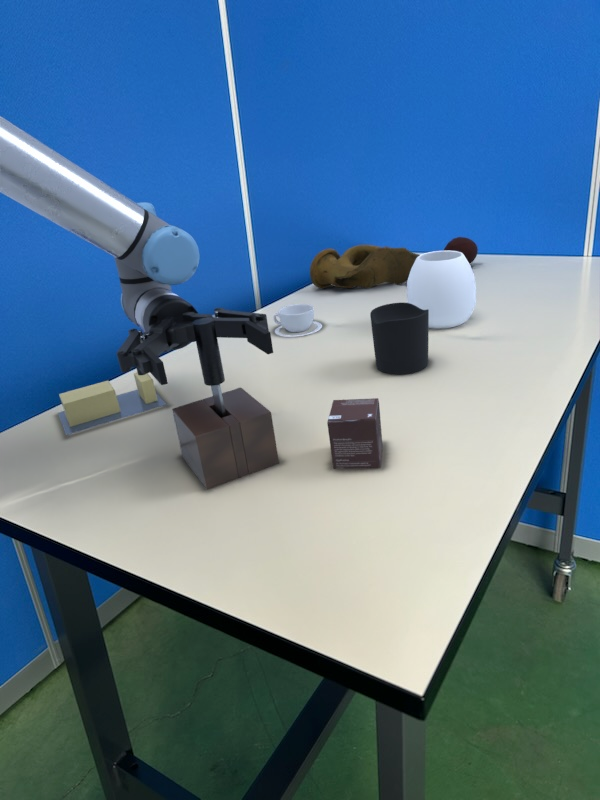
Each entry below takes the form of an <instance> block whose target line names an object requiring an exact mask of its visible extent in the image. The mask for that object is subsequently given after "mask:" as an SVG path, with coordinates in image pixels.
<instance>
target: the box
mask: <svg viewBox="0 0 600 800" xmlns="http://www.w3.org/2000/svg"><path fill="white" fill-rule="evenodd" d="M326 422H327V424H326V425H327V430H328V431H327V433H328V437H329V444H330V453H331V461H332V467H333V469H334V470H358V469H360V470H361V469H362V470H363V469H381V468H382V457H383V445H384V444H383V434H382V423H381V422H382V421H381V409H380V400H379V398H378V397H375V398H355V399H354V398H352V399H333V401H332V404H331V408H330V411H329V415H328V419H327V421H326Z"/></svg>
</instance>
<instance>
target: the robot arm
mask: <svg viewBox="0 0 600 800" xmlns="http://www.w3.org/2000/svg"><path fill="white" fill-rule="evenodd" d="M0 193H1V194H2V195H4V196H6V197H8V198H10V199H11V200H13V201H15V202H17V203H18V204H20V205H22V206H24V207H25V208H27V209H29V210H31V211H33V212H34V213H36V214H38V215H39V216H41V217H43V218H45V219H47V220H48V221H51V222H52V223H54V224H56V225H57V226H59V227H61V228H63V229H64V230H66V231H68V232H70V233H71V234H73V235H75V236H77V237H78V238H80V239H82V240H84V241H85V242H87V243H89V244H91V245H93V246H94V247H96V248H98V249H100V250H101V251H103V252H105V253H107V254H109V255H111V256H112V257H114V262H115V265H116V269H117V274H118V278H119V283H120V288H121V294H120V305H121V308H122V310H123V313H124V315H125V317H127V319H128V320H129V321H130V323H132V324H133V325H135V326H136V327H138V329H140V330H138V329H137V328H131V329H129V330H127V332H128V336H127V337H126V339H125V340H124V342H123V343H122V344H121V345H120V347H119V348H118V350H117V351H116V357H117V361H118V364H119V369H120V372H122V373H128V372H130V371H131V370H132V369H133V368H136V373H138V375H145V374H147V373H148V374H149V373H150V374H151V375H152V376H153V378H154V379H155V380H156V381H157V382H158V383H159V384H160V385H161V386H164V385H168V384H169V382H168V378H167V374H166V369H165V365H164V361H163V360H162V359H161V358H160V356H161V355H162V354H163V353H169V352H170V351H177V350H180V349H183V348H186V347H187V346H189V345H190V344H191V343H196V339H195V334H194V329H193V324H192V322H193V321H195V320H197V319H201V318H213V319H214V324H215V329H216V335H217V338H225V339H246V341H247V342H248V343H249V344H251V345H252V346H254V347H256V348H257V349H259V350H260V351H262V352H263V353H265V354H266V355H270V354H274V348H273V342H272V341H273V340H272V334H271V331H269V324H268V317H267V314H266V313H259V312H250V311H249V312H248V311H241V310H240V311H239V310H229V309H226V308H224V307H215V308H214V309H213V313H214V314H211V313H199V312H198V310H197V309H196V308H195V307H194V306H193V305H192V303H190V302H189V301H188V300H185V299H184V298H182V297H181V296H179V295H178V294H177V293H175V292H173V291H172V290H173V289H172V286H177V285H181V284H184V283H185V282H187V281H189V280H190V279H191V278H192V277H193V276H194V275H195V273H196V272H197V270H198V267H199V264H200V257H201V256H200V249H199V246H198V244H197V242H196V240H195V239H194V238H193V236H192V235H191V234H189V232H187V231H185V230H184V229H183V228H181V227H179V226H178V225H177V226H176V225H171V224H169V223H167V222H166V221H165V220H163V219H161V218H160V217H158V216H157V212H156V209H155V206H154V205H153V204H152V203H151V202H146V201H145V202H144V201H142V202H135V201H134V200H133V199H131V198H129V197H127V196H126V195H124V194H123V193H121V192H120V191H118V190H116V189H115V188H113V187H112V186H110V185H109V184H107V183H106V182H104V181H102V180H101V179H99V178H97V176H95V175H93V174H92V173H90V172H88V171H87V170H86V169H83V168H82V167H81V166H79V165H77V163H75V162H73V161H71V160H69V159H68V158H66V157H65V156H63V155H62V154H60V153H59V152H57V151H56V150H54V149H53V148H52V147H49V146H48V145H46V144H44V143H43V142H42V141H40V140H38V139H37V138H36V137H34V136H32V135H31V134H29V133H28V132H26V131H24V130H23V129H21V128H20V127H18V126H17V125H15V124H14V123H12V122H11V121H9V120H7V119H6V118H5V117H3V116H1V115H0Z"/></svg>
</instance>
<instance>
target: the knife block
mask: <svg viewBox="0 0 600 800" xmlns="http://www.w3.org/2000/svg"><path fill="white" fill-rule="evenodd" d="M222 396H223V402H224V407H225V412H226V417H223V418H220V417H219V416H218V415H217V414H216V409H215V404H214V399H213V395H212V396H208V397H205V398H202V399H199V400H196V401H192V402H190V403H189V402H188V403H186V404H183V405H180V406H176V407H172V408H171V411H172V416H173V420H174V425H175V429H176V434H177V437H178V442H179V446H180V451H181V455H182V458H183V460H184V461H185V463H186V464H187V465H188V466H189V468H190V469H191V471H192V472H193V473H194V475H195V476H196V477H197V478H198V480H199V481H200V483H201V484H202V485H203V487H204V488H205V489H206V490H211V489H213V488H216V487H219V486H222V485H224V484H227V483H229V482H232V481H236V480H238V479H241V478H244V477H247V476H248V475H252V474H254V473H258V472H260V471H263V470H265V469H268V468H271V467H274V466H277V465H279V464H280V460H279V453H278V447H277V441H276V435H275V428H274V422H273V416H272V412H271V410H270V409H268V408H267V407H266V406H265V405H263V404H262V403H261V402H259V401H258V400H257V399H256V398H254V397H253V396H252V395H251V394H250V393H249V392H247V391H246V390H245V389H244V388H243V387H238V388H235V389H230V390H228V391H224V392H222Z"/></svg>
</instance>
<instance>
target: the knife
mask: <svg viewBox="0 0 600 800" xmlns="http://www.w3.org/2000/svg"><path fill="white" fill-rule="evenodd" d="M192 324H193V329H194V334H195V339H196V341H195V344H196V348H197V354H198V358H199V359H198V360H199V363H200V368H201V373H202V378H203V379H202V380H203V384H204V385H205V386H207V387H208V386H209V387H210V389H211V394H212V396H213V399H214V404H215V409H216V414H217V415H218V416H219V417H220V418H223V417H226V412H225V407H224V402H223V396H222V393H223V392H222V386H221V384H223V383H224V382H225V381H226V378H225V373H224V367H223V362H222V357H221V351H220V345H219V340H218V337H217V335H216V329H215V324H214V319H213V318H201V319H197V320H195V321H193V322H192Z"/></svg>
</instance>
